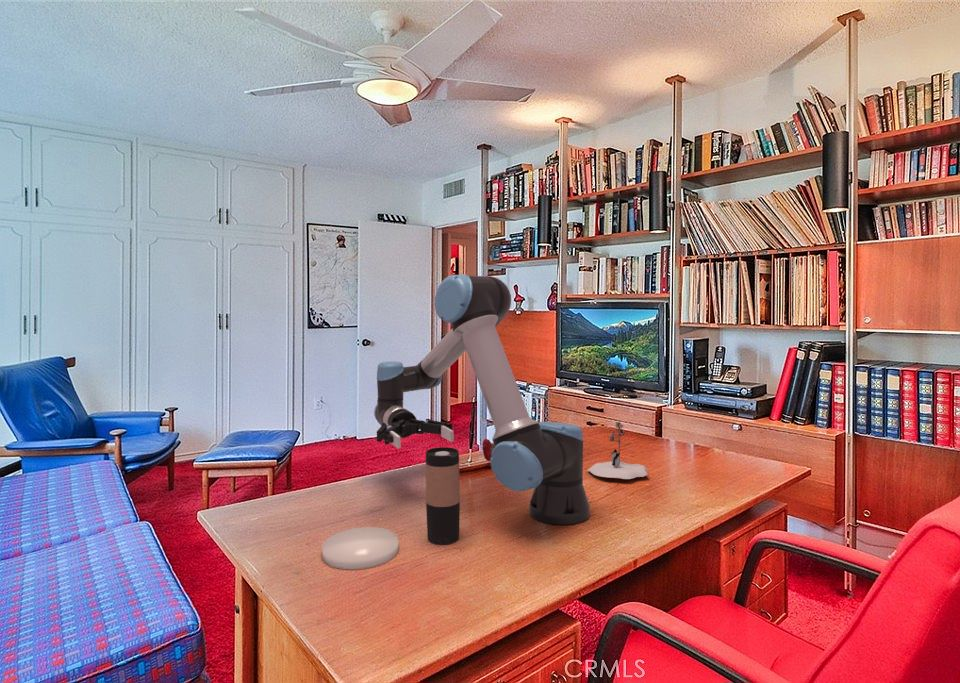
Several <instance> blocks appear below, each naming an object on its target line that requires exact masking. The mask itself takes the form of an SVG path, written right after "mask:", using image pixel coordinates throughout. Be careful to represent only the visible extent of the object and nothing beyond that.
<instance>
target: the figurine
mask: <svg viewBox="0 0 960 683" xmlns="http://www.w3.org/2000/svg"><path fill="white" fill-rule="evenodd" d="M614 423H615V426H614V427H615V429H617V431H618V434H616V432H615V431H612V432H611V434H609V435H608V436H609V438H608V439H609V442H616V443H618V450H617V449H616V448H615V449H613V451H612V452H611V454H610V455H609V456H608V457H609V458H611V459H610V461H606V462H605V461H604V462H596V463H595V464H593V465H592V466H591V467H589V468H588V469H587V472H590V473H591V474H592V475H593V476H597V477H602V478H611V479H612V478H614V479H622V480H631V479H635V478H640V477H641V478H644V477H646V476H649V471H648V468H647V467H646V466H645V465H643V464H639V463H634V464H632V463H628V462H624V461H621V456H620V455H621V453H620V452H621V449H620V447H621V445H631V444H632V442H631V441H628V442H621V437H624V436H626V433H627V430H625V431H624V430H623V429H622V428H624V424H621V422H620V421H615V422H614ZM615 437H618V440H615ZM610 456H611V457H610Z"/></svg>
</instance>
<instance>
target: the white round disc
mask: <svg viewBox="0 0 960 683" xmlns="http://www.w3.org/2000/svg"><path fill="white" fill-rule="evenodd" d="M399 549H400V548H399V537H398V535H397V534H396V533H395V532H394V531H392V530H390V529H387V528H382V527H378V526H377V527H376V526H375V527H374V526H364V527H353V528H349V529H345V530H343V531H339V532H337V533H334V534H333V535H331V536H329V537H328V538H326V539H325V540H324V542H323V544H322V547H321V553H322V554H321V555H322V557H321V558H322V560H323V562H324V563H325V564H326V565H328V566H330V567H332V568H335V569H339V570H348V571H349V570H351V571H353V570H355V571H357V570H364V569H370V568H374V567H378V566H381V565H383V564H385V563H387V562H389V561H391V560H393V558H394V557H395V556H396V555H397V554H398V553H399Z"/></svg>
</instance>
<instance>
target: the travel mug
mask: <svg viewBox="0 0 960 683" xmlns="http://www.w3.org/2000/svg"><path fill="white" fill-rule="evenodd" d="M460 490H461V489H460V451H459V450H458V449H457V448H455V447H446V446H445V447H443V446H440V447H434V448H429V449H427V450H426V451H425V507H426V508H425V509H426V529H427V531H426V532H427V533H426V534H427V540H428V542H429V543H431V544H434V545H438V546H446V545H450V544H454V543H456V542H457V541H458V540H459V538H460V514H461V513H460V511H461V510H460V508H461V507H460V506H461V497H460V496H461V494H460V492H461V491H460Z"/></svg>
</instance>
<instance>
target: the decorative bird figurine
mask: <svg viewBox="0 0 960 683" xmlns="http://www.w3.org/2000/svg"><path fill="white" fill-rule="evenodd" d="M494 448H495V446H494V443H493V442H491V441H490V439H488V438H484V440H483V441H482V452H483V456H484V459H485V460H486V461H488V462H490V459H491V457H492V455H491V453H492V451H493V449H494ZM487 467H491V462H490V463H489V464H488V466H487Z"/></svg>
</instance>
